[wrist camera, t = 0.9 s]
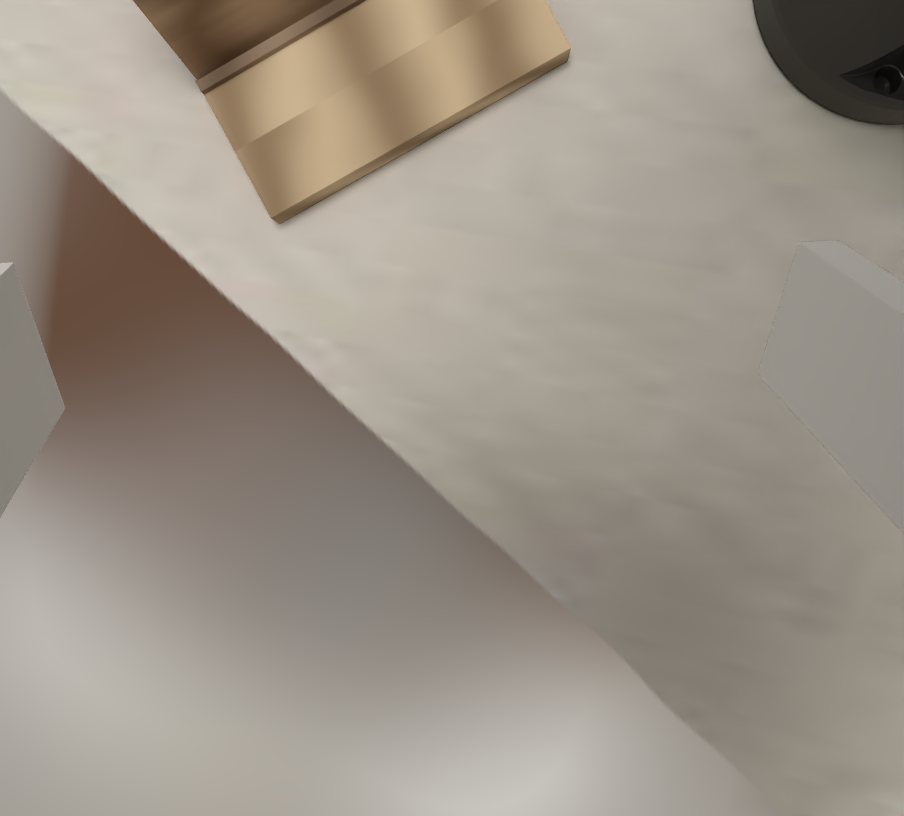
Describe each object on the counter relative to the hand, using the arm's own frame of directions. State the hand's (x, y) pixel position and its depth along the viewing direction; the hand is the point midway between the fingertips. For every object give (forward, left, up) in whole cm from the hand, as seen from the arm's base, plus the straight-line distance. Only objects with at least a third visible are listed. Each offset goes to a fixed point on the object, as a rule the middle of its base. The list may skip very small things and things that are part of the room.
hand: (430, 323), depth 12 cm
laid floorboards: (-4, -16, -26) cm, 31 cm away
